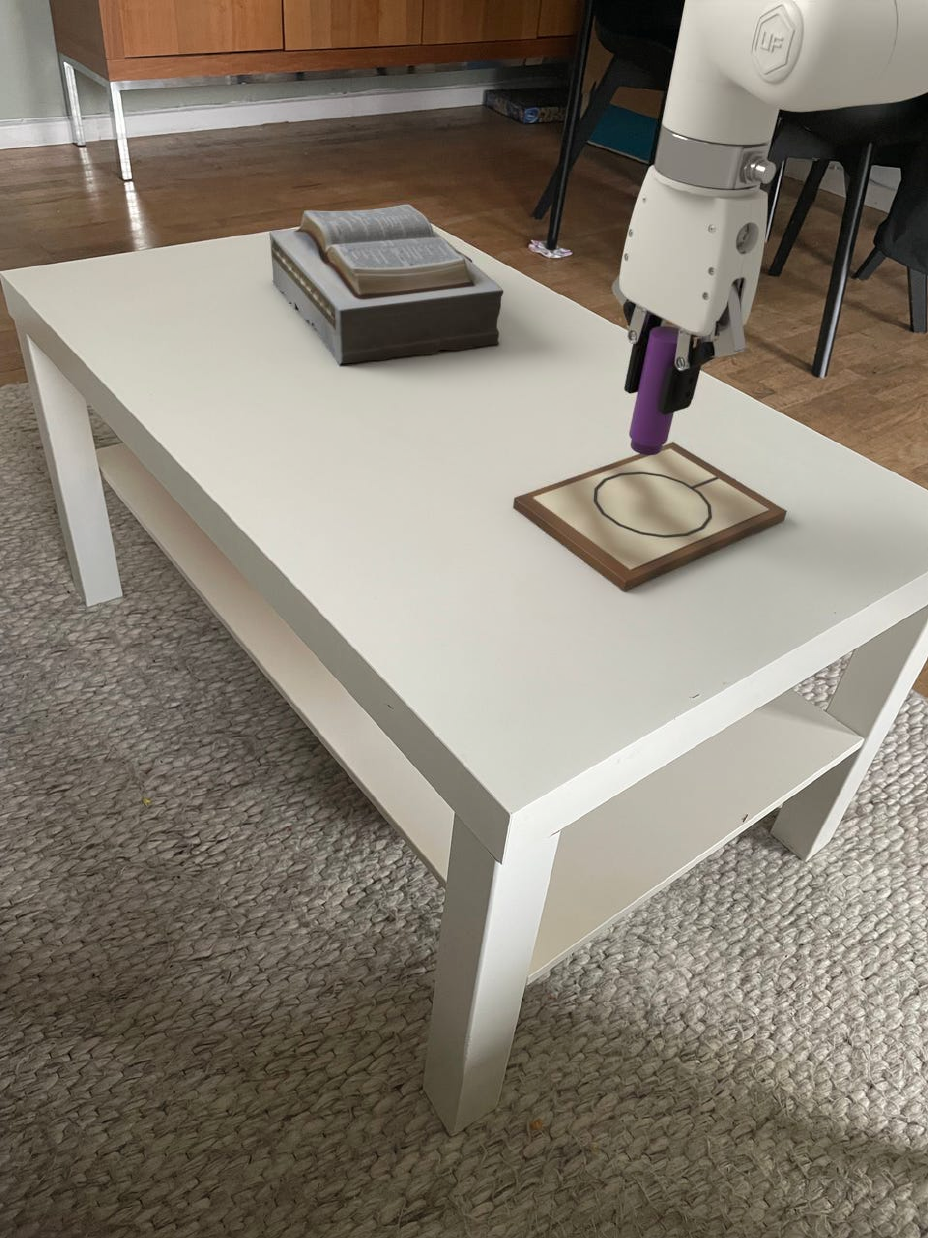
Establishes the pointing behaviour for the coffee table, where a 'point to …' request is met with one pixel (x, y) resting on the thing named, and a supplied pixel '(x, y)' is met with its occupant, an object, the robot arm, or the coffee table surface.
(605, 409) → the coffee table surface
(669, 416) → the marker
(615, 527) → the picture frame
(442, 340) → the bible
